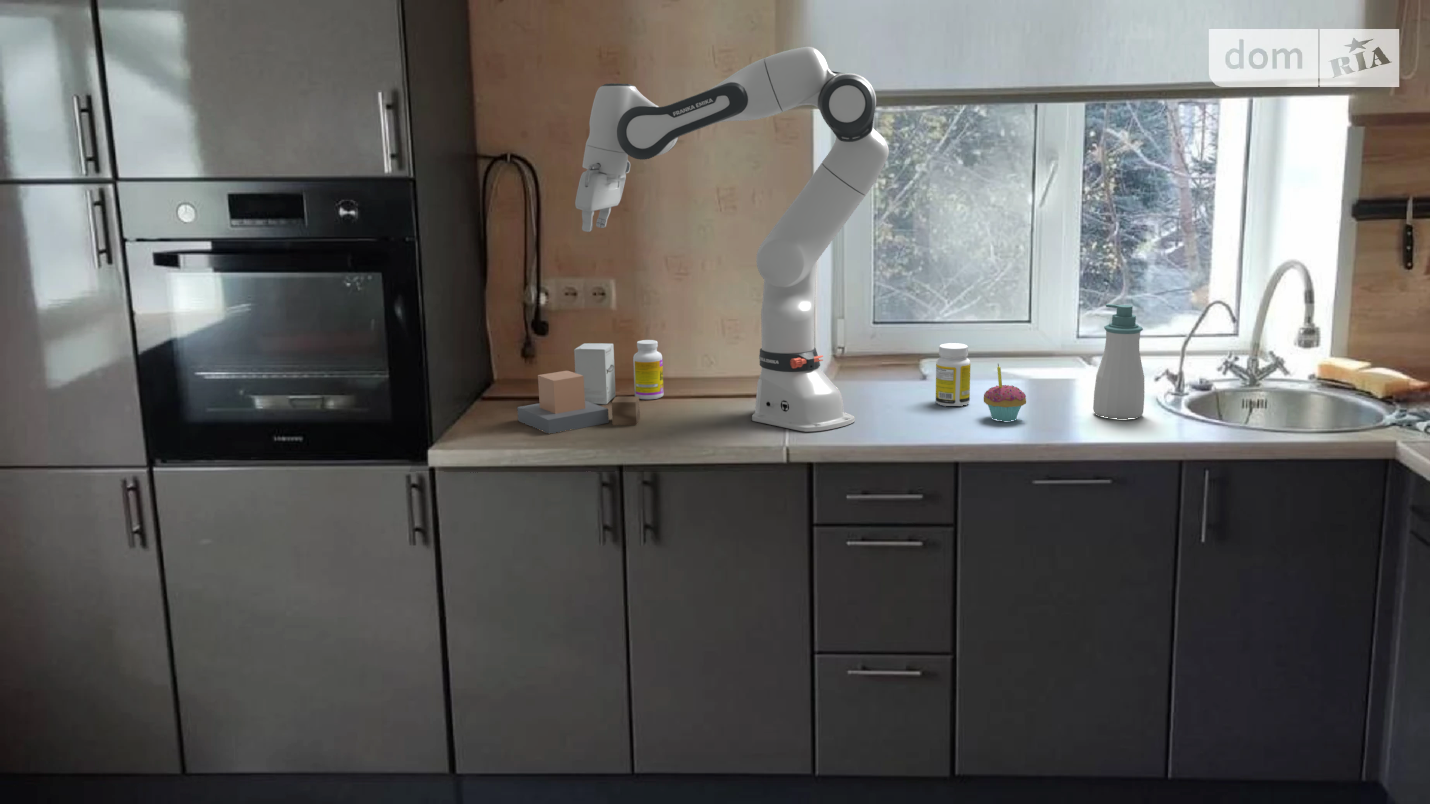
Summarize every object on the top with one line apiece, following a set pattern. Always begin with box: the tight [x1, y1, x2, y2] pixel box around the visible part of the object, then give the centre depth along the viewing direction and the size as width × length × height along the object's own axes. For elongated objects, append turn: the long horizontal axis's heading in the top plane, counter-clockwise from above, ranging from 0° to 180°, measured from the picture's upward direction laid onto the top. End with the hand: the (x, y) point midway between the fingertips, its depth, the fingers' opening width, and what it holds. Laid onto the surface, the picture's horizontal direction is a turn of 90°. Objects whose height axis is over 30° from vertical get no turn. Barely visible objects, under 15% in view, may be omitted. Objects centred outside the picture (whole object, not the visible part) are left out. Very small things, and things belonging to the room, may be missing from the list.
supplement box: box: [573, 342, 616, 405], centre depth 257 cm, size 7×7×13 cm
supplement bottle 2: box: [935, 342, 971, 407], centre depth 247 cm, size 7×7×13 cm
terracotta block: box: [537, 370, 585, 414], centre depth 239 cm, size 7×7×7 cm
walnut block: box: [611, 396, 641, 426], centre depth 239 cm, size 5×5×5 cm
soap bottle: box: [1092, 303, 1145, 419], centre depth 233 cm, size 10×10×23 cm
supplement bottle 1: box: [632, 339, 665, 401], centre depth 260 cm, size 7×7×13 cm
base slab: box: [517, 401, 610, 434], centre depth 241 cm, size 14×14×3 cm
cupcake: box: [983, 363, 1027, 421], centre depth 234 cm, size 9×8×12 cm
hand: (593, 229), depth 238 cm, fingers open, 8 cm apart
